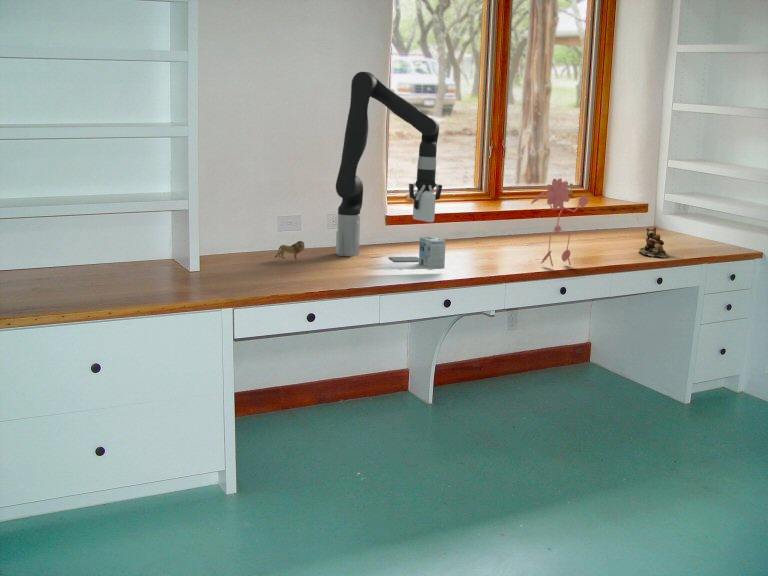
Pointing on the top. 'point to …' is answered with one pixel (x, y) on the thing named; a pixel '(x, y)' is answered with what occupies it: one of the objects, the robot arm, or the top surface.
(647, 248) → the bear figurine
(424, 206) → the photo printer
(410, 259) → the slate pad
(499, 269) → the top surface
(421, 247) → the light bulb box
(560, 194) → the figurine
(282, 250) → the lion figurine
